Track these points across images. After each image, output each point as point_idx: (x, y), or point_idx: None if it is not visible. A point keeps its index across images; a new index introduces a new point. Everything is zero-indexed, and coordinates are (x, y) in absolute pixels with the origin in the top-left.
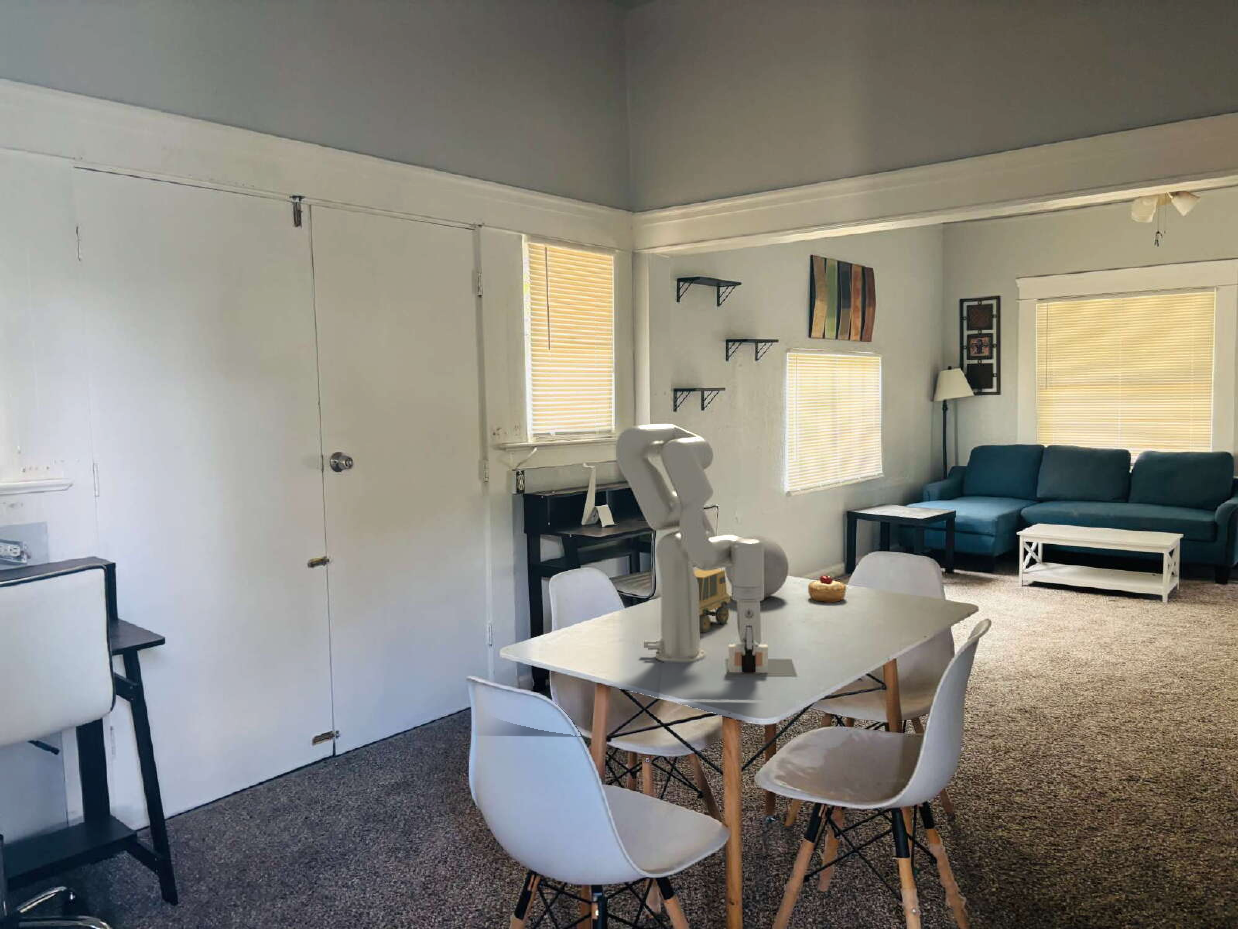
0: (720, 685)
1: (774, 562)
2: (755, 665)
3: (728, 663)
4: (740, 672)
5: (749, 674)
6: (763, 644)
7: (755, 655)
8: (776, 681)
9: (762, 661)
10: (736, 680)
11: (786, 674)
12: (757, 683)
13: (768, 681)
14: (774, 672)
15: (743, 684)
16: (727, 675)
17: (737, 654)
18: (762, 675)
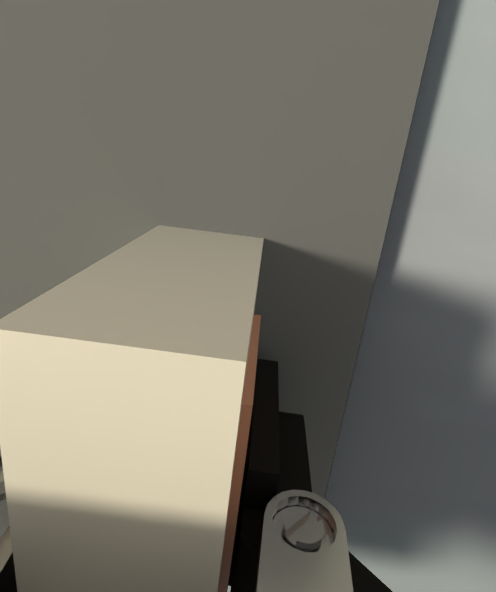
0: (447, 584)
1: None
2: (276, 393)
3: None
4: None
5: (297, 402)
6: (3, 406)
7: (278, 476)
8: (459, 190)
9: (251, 334)
10: (360, 484)
11: (351, 42)
12: (471, 362)
13: (441, 264)
14: (261, 170)
15: (467, 460)
16: None
17: None
18: (346, 306)
